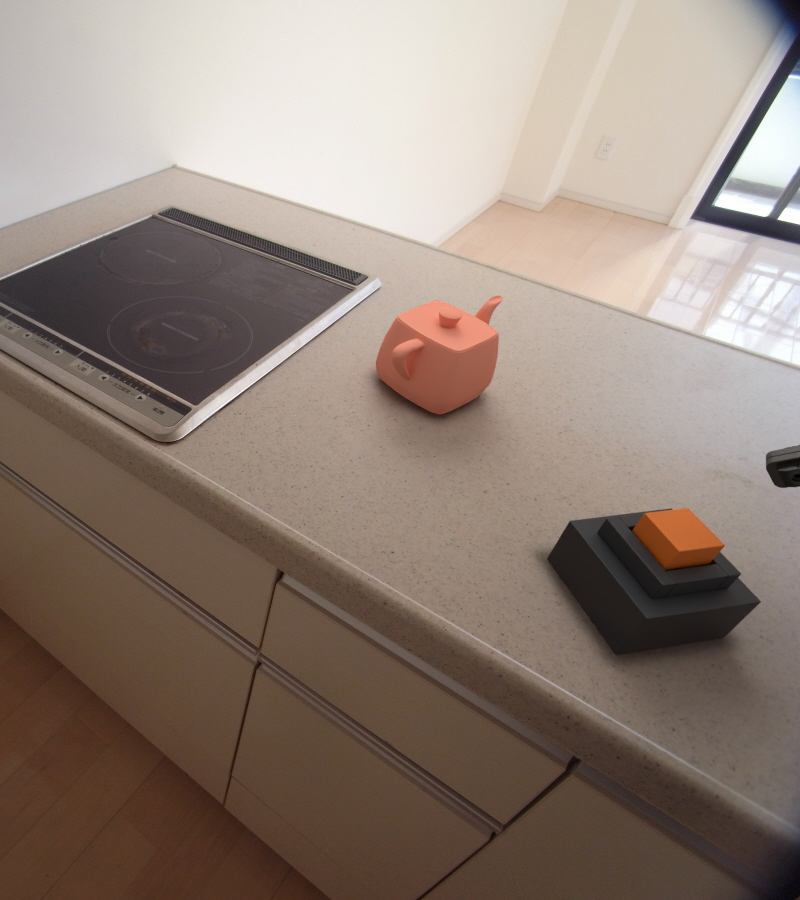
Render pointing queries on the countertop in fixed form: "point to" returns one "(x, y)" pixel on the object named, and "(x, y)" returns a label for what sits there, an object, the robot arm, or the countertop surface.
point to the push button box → (646, 588)
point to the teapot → (440, 355)
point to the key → (677, 538)
